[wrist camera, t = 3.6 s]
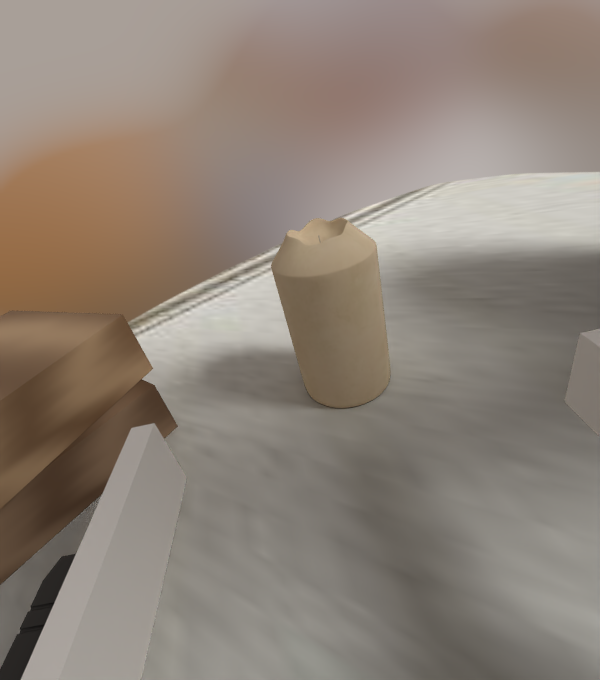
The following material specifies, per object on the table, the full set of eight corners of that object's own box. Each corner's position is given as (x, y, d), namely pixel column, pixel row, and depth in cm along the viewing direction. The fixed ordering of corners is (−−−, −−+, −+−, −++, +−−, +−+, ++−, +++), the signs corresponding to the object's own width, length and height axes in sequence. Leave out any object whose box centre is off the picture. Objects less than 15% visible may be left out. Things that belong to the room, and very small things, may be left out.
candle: (305, 416, 22) (258, 257, 16) (304, 360, 26) (267, 222, 21) (400, 400, 21) (383, 230, 16) (382, 346, 26) (363, 200, 20)
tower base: (95, 386, 31) (69, 347, 29) (181, 431, 24) (154, 385, 22) (-76, 503, 24) (-128, 462, 22) (-26, 618, 17) (-97, 576, 14)
